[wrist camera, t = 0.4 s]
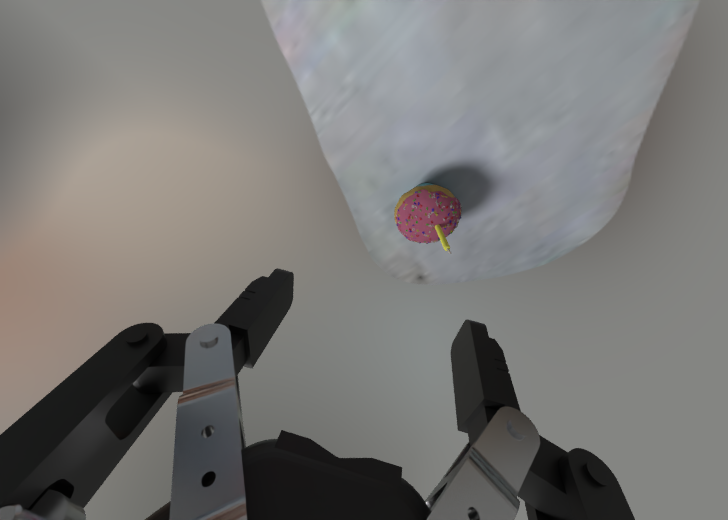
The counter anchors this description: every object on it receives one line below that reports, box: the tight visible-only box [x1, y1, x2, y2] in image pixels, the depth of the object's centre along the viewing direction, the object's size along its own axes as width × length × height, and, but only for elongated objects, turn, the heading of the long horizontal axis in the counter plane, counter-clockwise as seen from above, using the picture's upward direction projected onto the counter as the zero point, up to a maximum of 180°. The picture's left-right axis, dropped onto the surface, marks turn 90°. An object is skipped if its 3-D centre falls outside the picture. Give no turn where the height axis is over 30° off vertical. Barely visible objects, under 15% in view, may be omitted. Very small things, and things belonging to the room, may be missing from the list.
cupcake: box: [395, 183, 462, 254], centre depth 34 cm, size 9×8×12 cm
